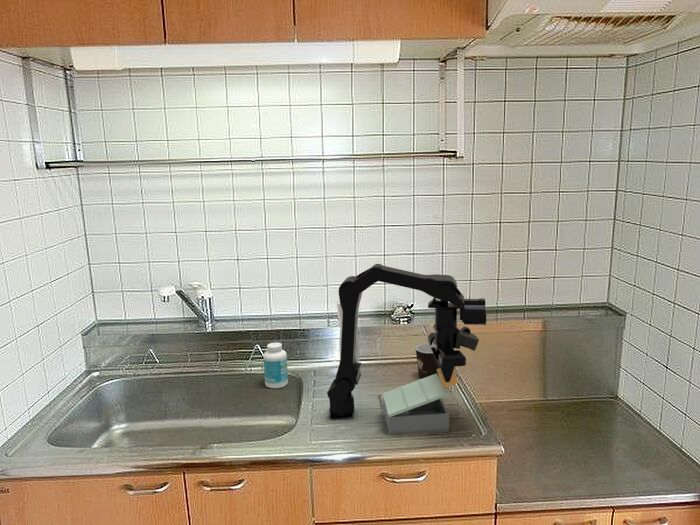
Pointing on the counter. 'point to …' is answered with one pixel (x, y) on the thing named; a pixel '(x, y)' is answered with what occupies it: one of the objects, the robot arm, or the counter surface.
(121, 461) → the counter surface
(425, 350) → the coffee mug
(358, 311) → the skyscraper
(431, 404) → the parts tub
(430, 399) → the lid
